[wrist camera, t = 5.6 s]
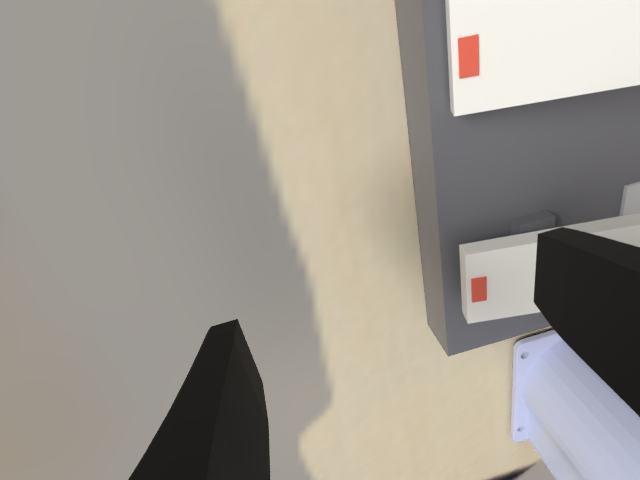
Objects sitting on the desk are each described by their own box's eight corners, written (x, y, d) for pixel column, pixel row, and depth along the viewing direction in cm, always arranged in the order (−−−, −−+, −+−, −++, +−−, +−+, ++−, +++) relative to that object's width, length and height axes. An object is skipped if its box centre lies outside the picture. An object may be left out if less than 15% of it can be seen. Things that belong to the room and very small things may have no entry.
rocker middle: (668, 68, 14) (693, 76, 13) (448, 107, 15) (454, 117, 14) (694, -63, 12) (726, -67, 11) (443, -6, 13) (449, -5, 12)
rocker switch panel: (627, 266, 24) (678, 297, 21) (427, 324, 23) (453, 365, 20) (814, -690, 10) (1028, -948, 7) (332, -616, 9) (372, -872, 7)
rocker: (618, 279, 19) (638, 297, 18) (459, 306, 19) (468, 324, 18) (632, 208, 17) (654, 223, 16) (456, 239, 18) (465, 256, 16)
